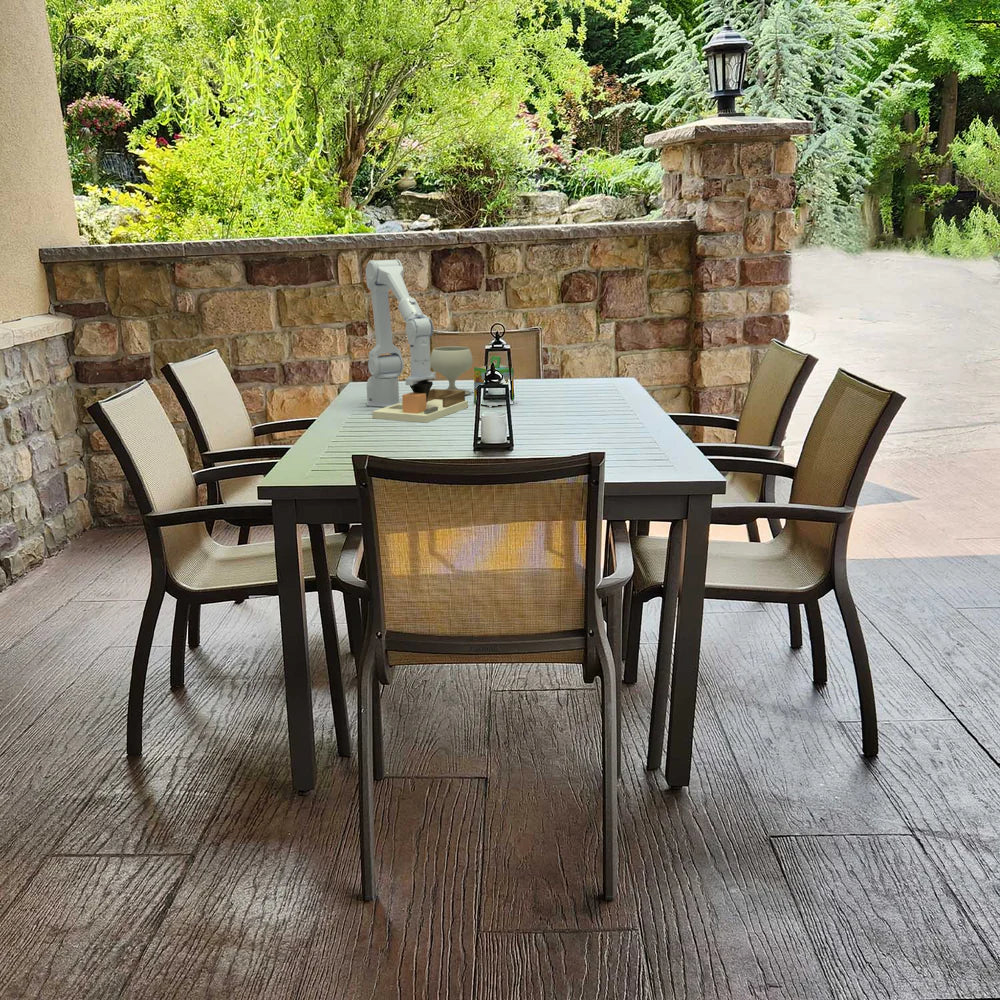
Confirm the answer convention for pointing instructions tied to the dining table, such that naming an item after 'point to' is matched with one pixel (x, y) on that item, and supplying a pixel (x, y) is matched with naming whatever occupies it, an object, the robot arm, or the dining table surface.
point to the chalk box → (480, 372)
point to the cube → (414, 402)
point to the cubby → (447, 396)
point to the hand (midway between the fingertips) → (421, 406)
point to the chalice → (451, 363)
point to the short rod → (430, 410)
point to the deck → (397, 413)
